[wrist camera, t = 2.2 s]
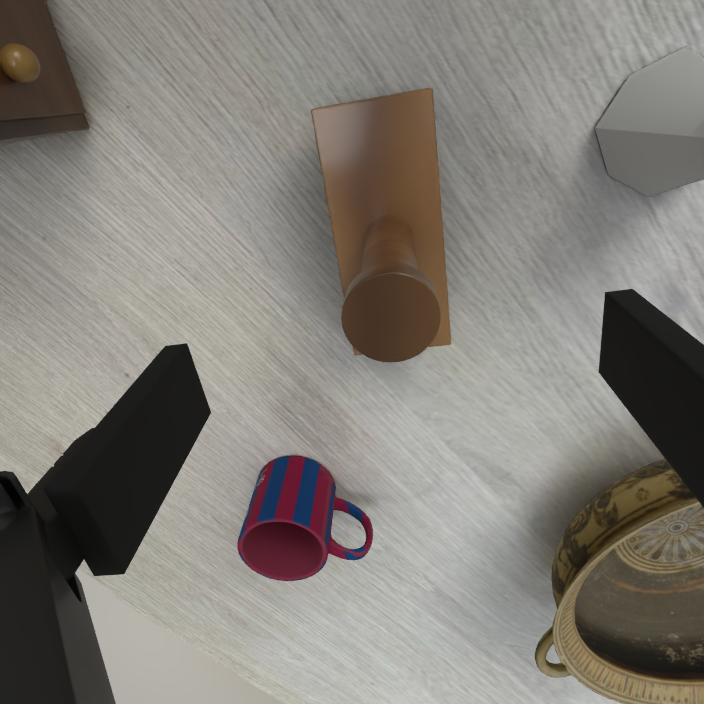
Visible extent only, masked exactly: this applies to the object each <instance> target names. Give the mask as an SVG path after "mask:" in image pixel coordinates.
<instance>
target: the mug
mask: <svg viewBox="0 0 704 704" xmlns="http://www.w3.org/2000/svg"><path fill="white" fill-rule="evenodd" d="M335 490H336V487H335V482H334V479H333V477H332V476H331V474H330V473H329V471H328V470H327V469H326V468H325V467H323V466H322V465H321V464H319V463H317V462H316V461H314V460H311V459H308V458H305V457H299V456H286V457H281V458H278V459H275V460H273V461H271V462H269V463H268V464H267V465H266V466H264V468H263V469H262V470H261V472H260V474H259V476H258V480H257V483H256V486H255V489H254V492H253V495H252V498H251V501H250V504H249V507H248V511H247V514H246V517H245V520H244V523H243V526H242V529H241V532H240V535H239V539H238V543H237V544H238V551H239V555H240V556H241V558H242V560H243V561H244V562H245V564H246V565H247V566H248V567H250V568H251V569H252V570H254V571H255V572H257V573H259V574H261V575H263V576H265V577H268V578H271V579H275V580H282V581H295V580H301V579H305V578H308V577H310V576H313V575H314V574H316V573H317V572H319V571H320V570H321V569H322V568H323V566H324V565H325V563H326V561H327V557H328V554H329V553H330V554H332V555H334V556H337V557H339V558H342V559H347V560H358V559H361V558H363V557H364V556H365V555H366V554H367V553H368V551H369V549H370V547H371V544H372V540H373V529H372V524H371V521H370V519H369V517H368V516H367V515H366V514H365V513H364V512H363V511H362V510H361V509H360V508H358V507H357V506H355V505H353V504H351V503H350V502H347V501H345V500H343V499H340V498H337V497H336V496H335ZM333 510H339V511H343V512H346V513H348V514H350V515H352V516H353V517H355V518H356V519H357V520H359V521H360V522H361V524H362V525H363V527H364V529H365V532H366V542H365V544H364V545H363V546H362V547H361V548H358V549H348V548H344V547H342V546H341V545H339V544H338V543H337V542H336V541H335V540H333V539H332V537H331V526H332V518H333Z"/></svg>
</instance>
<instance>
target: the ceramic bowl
mask: <svg viewBox="0 0 704 704" xmlns="http://www.w3.org/2000/svg"><path fill="white" fill-rule="evenodd" d="M552 587H553V595H554V598H555V602H556V606H557V612H556V615H555V618H554V621H553V626H552V627H551V628H550V629H549V630H548V631H547V632H546V633H545V634H544V635H543V637H542V638H541V640H540V641H539V642H538V645H537V648H536V652H535V661H536V664H537V667H538V668H539V669H540V671H541V672H543V673H544V674H545V675H547V676H550V677H566V676H569V675H572V676H574V677H575V678H576V679H577V680H578V681H579V682H580V683H582V684H583V685H584V686H586V687H587V688H589V689H591V690H592V691H594V692H595V693H597V694H600V695H602V696H604V697H606V698H608V699H612V700H615V701H617V702H620V703H623V704H704V508H703V506H702V505H701V504H700V503H699V501H698V500H697V499H696V497H695V496H694V495H693V494H692V492H691V491H690V490H689V488H688V487H687V486H686V484H685V483H684V482H683V481H682V479H681V478H680V477H679V475H678V474H677V473H676V472H675V470H674V469H673V468H672V466H671V465H670V464H669V462H668V461H667V460H666V459H664V460H661V461H658V462H655V463H652V464H650V465H648V466H645V467H643V468H641V469H639V470H637V471H635V472H632V473H630V474H629V475H627V476H625V477H623V478H621V479H620V480H618V481H616V482H615V483H613V484H612V485H610V486H609V487H607V488H606V489H605V490H603V491H602V492H601V493H600V494H598V495H597V496H596V497H595V498H593V499H592V500H591V501H590V502H589V503H588V504H587V505H586V506H585V507H584V508H583V509H582V510H581V511H580V512H579V513H578V514H577V515H576V517H575V518H574V519H573V521H572V522H571V524H570V525H569V526H568V528H567V529H566V531H565V533H564V535H563V537H562V539H561V541H560V543H559V545H558V548H557V550H556V554H555V557H554V561H553V566H552ZM553 643H554V646H555V650H556V652H557V655H558V657H559V659H560V661H561V662H562V663H559V664H553V663H549V662H548V661H547V660H546V655H547V652H548V650H549V648H550V647H551V645H552V644H553Z"/></svg>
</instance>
